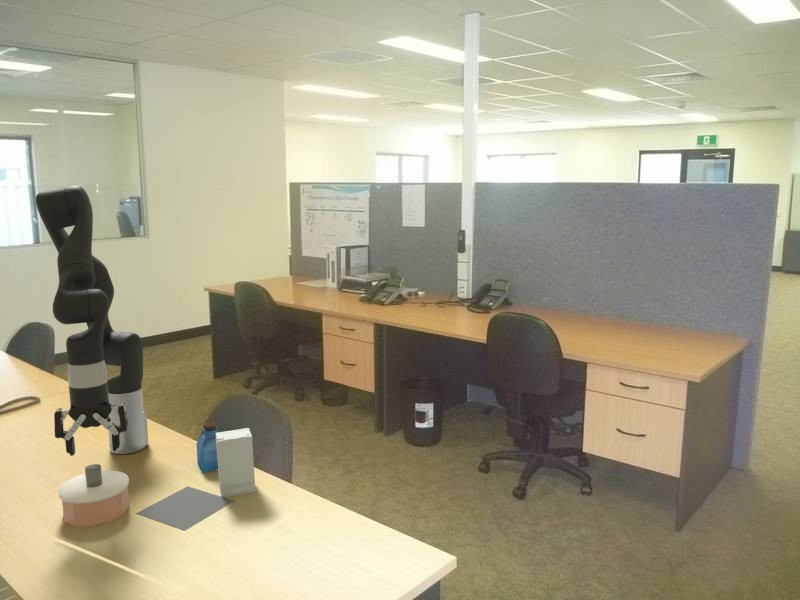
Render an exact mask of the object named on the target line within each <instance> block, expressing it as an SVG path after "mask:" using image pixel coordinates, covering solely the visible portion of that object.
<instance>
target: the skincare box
mask: <svg viewBox="0 0 800 600" xmlns="http://www.w3.org/2000/svg"><path fill="white" fill-rule="evenodd" d="M250 430H251V429H250V428H249V427H246V428H245V427H243V428H240V429H233V430H227V431H220V432H219V431H217V433H216V448H217V459H218V470H217V472H218V482H219V483H218V485H219V490H220V491H219V492H220V496H221V497H224V498H227V497H231V496H238V495H244V494H249V493H256V481H255V480H256V479H255V478H256V477H255V476H256V475H255V464H254V463H255V462H254V446H253V445H254V444H253V436H252V432H251V431H250Z"/></svg>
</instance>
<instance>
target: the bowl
mask: <svg viewBox="0 0 800 600" xmlns="http://www.w3.org/2000/svg"><path fill="white" fill-rule="evenodd" d="M129 502H130V498H129V486H128V487H127V488H126V489H125V490H124V491H123V492H121V493H120V494H118V495H116V496H114V497H111V498H109V499H106V500H102V501H98V502H93V503H85V504H74V503H68V502H65V501H62V500H61V507H62V515H63V522H64V523H65V524H68V525H69V526H73V527H94V526H99V525H103V524H107V523H110V522H112V521H113V520H115V519H116V520H117V519H118V518H119V517H122V516H123V515H124V514H125V513H126V512H127V511H128V510H129V508H130V503H129Z"/></svg>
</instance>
